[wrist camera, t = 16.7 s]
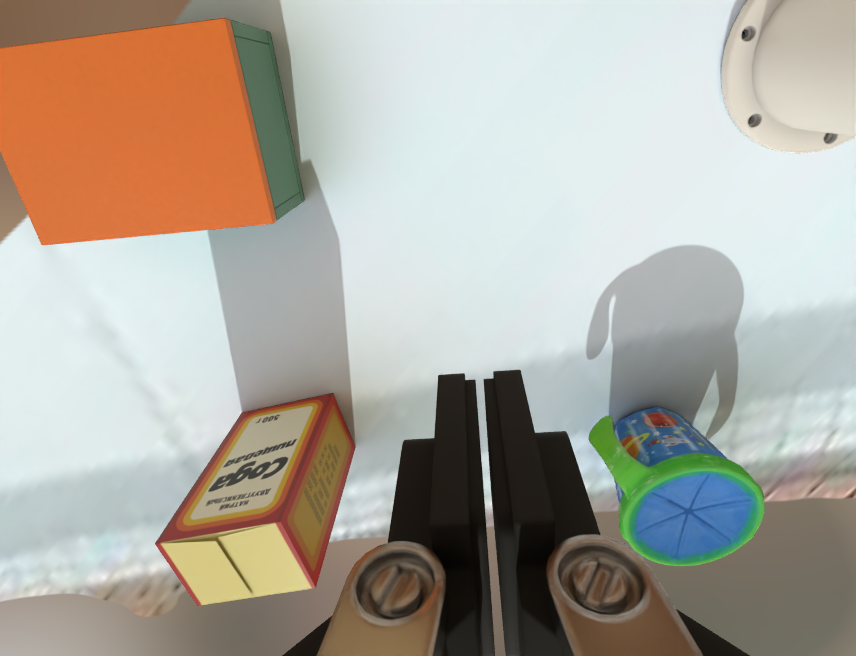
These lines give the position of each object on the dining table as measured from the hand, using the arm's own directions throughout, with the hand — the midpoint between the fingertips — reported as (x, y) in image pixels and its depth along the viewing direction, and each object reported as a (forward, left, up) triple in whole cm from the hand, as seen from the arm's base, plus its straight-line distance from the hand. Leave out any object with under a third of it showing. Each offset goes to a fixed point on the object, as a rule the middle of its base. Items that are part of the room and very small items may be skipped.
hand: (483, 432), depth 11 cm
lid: (+11, -18, -24) cm, 32 cm away
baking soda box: (+28, +4, -31) cm, 42 cm away
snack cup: (+6, +29, -31) cm, 43 cm away
